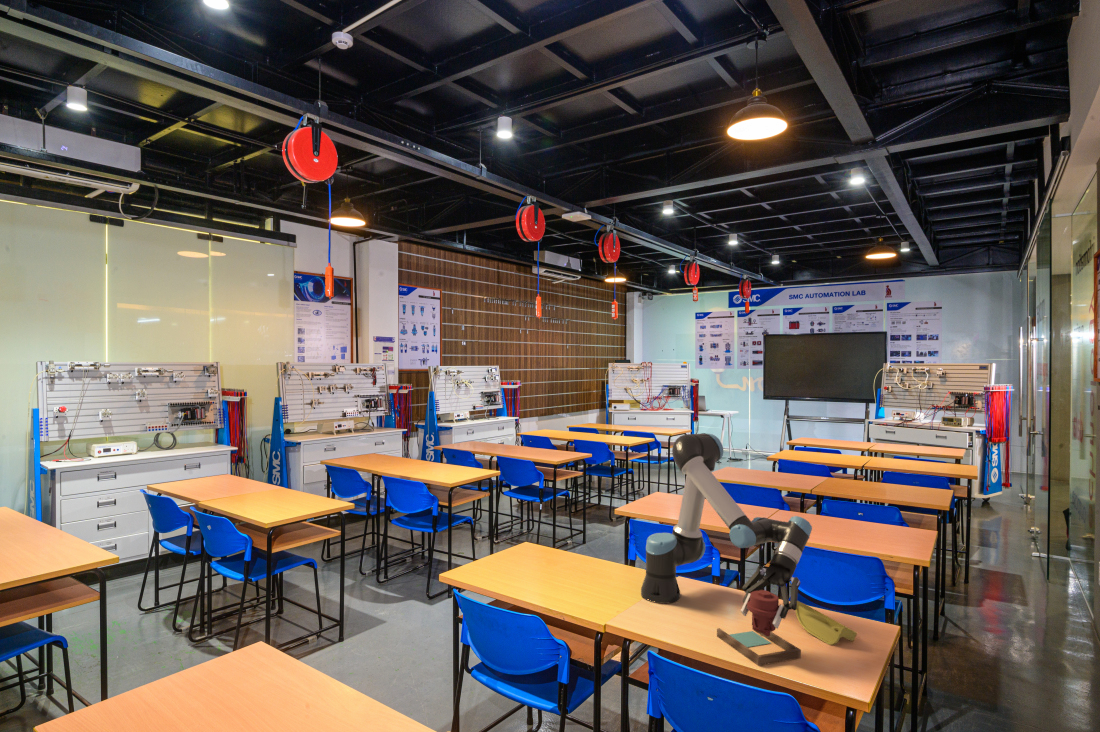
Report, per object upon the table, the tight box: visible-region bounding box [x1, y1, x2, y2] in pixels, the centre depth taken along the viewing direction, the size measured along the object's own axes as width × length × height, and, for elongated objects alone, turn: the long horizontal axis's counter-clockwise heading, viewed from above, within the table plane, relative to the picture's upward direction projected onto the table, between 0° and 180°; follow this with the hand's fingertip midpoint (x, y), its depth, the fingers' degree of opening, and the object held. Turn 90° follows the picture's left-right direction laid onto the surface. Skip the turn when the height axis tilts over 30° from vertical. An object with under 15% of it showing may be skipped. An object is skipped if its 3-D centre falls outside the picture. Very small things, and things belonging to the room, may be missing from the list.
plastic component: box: [794, 600, 858, 646], centre depth 189 cm, size 20×7×10 cm
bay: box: [716, 627, 802, 667], centre depth 177 cm, size 20×16×2 cm
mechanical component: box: [747, 589, 780, 636], centre depth 174 cm, size 12×10×10 cm
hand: (758, 619), depth 172 cm, fingers closed on mechanical component, 10 cm apart
